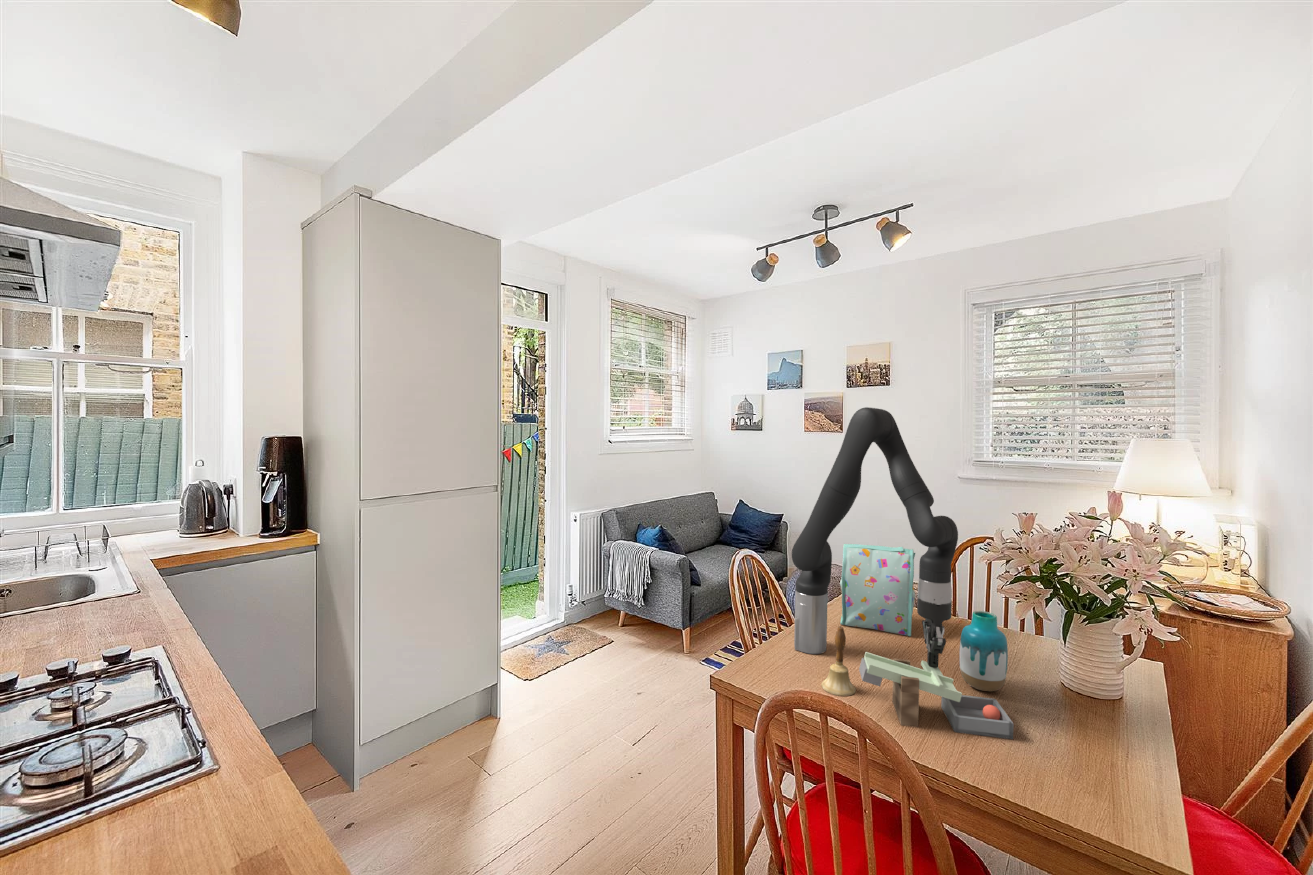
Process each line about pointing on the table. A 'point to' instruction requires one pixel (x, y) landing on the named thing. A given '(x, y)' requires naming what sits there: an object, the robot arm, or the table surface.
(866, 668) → the lever
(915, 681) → the fulcrum
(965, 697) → the tray
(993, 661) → the vase
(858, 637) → the table surface
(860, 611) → the lunch bag
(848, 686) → the hand bell
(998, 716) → the ball
